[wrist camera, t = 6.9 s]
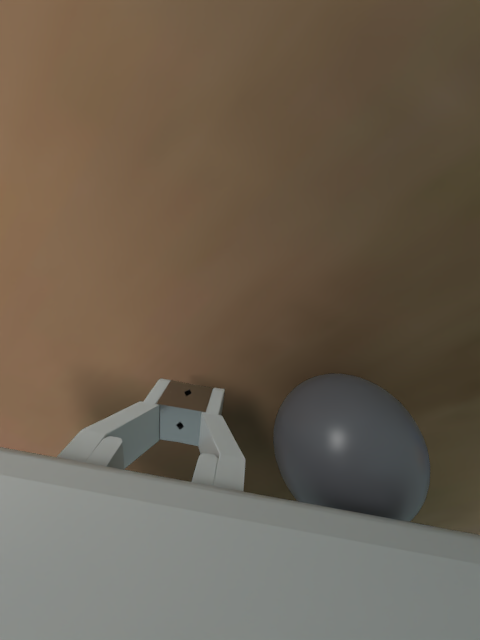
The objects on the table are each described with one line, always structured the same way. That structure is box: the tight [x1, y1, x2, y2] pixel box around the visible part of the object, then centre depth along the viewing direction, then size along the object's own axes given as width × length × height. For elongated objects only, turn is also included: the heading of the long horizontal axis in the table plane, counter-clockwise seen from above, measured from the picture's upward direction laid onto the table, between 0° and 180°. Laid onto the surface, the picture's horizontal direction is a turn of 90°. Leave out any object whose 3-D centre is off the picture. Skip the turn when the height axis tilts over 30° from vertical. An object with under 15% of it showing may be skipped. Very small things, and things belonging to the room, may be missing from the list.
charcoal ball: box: [273, 373, 430, 522], centre depth 9 cm, size 6×6×6 cm
